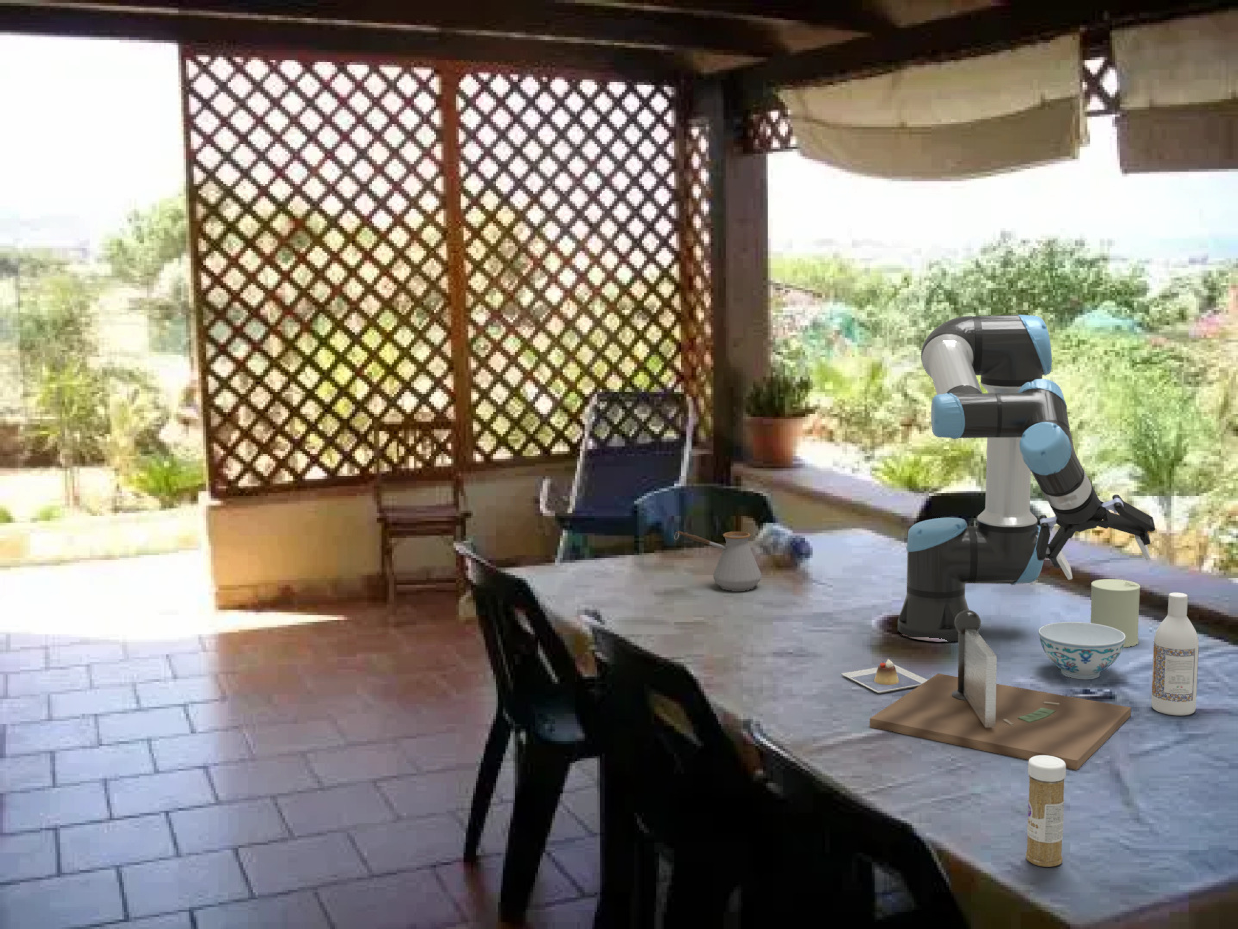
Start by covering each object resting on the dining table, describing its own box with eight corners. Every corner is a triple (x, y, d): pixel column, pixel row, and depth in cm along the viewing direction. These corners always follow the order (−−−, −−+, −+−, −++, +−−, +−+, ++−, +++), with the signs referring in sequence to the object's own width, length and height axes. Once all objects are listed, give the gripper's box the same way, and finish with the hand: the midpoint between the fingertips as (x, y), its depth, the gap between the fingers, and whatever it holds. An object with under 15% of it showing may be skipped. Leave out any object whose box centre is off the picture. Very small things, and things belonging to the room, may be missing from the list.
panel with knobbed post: (951, 687, 230) (952, 607, 227) (976, 687, 229) (978, 606, 227) (976, 727, 210) (977, 640, 208) (1004, 727, 210) (1006, 639, 208)
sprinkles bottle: (1019, 854, 171) (1021, 755, 169) (1052, 851, 172) (1054, 752, 169) (1036, 870, 166) (1039, 769, 164) (1070, 866, 167) (1073, 765, 165)
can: (1142, 648, 257) (1144, 588, 255) (1092, 647, 259) (1094, 587, 257) (1134, 635, 266) (1136, 577, 264) (1086, 633, 267) (1087, 576, 266)
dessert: (840, 679, 244) (840, 654, 244) (894, 670, 249) (894, 645, 248) (877, 698, 234) (878, 672, 233) (933, 688, 238) (934, 662, 237)
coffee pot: (749, 579, 319) (749, 518, 316) (770, 590, 308) (769, 527, 306) (667, 588, 312) (665, 526, 310) (685, 600, 301) (683, 536, 299)
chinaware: (1068, 690, 233) (1070, 648, 232) (1021, 666, 248) (1022, 626, 247) (1141, 681, 237) (1143, 640, 236) (1091, 658, 252) (1092, 618, 250)
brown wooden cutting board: (869, 727, 218) (869, 716, 218) (938, 681, 240) (938, 671, 240) (1077, 770, 198) (1077, 758, 198) (1130, 716, 220) (1131, 705, 220)
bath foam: (1159, 700, 227) (1163, 587, 224) (1201, 708, 223) (1206, 593, 220) (1145, 711, 222) (1149, 595, 219) (1188, 719, 218) (1193, 602, 215)
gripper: (999, 531, 224) (1040, 598, 237) (1150, 489, 213) (1184, 562, 226) (995, 497, 229) (1035, 564, 242) (1142, 455, 218) (1176, 528, 231)
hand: (1107, 563), depth 234 cm, fingers open, 13 cm apart
